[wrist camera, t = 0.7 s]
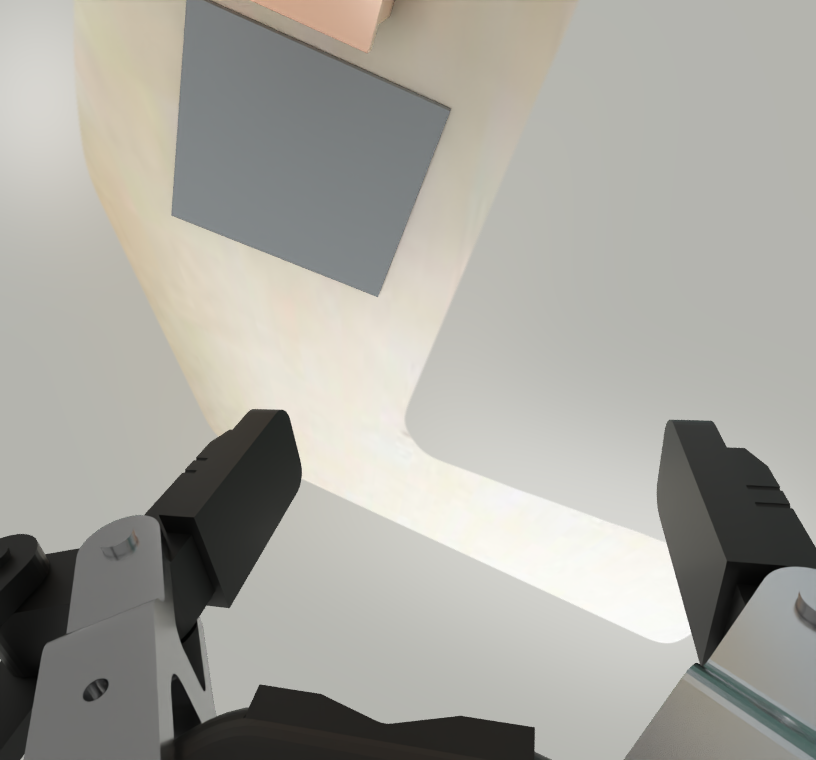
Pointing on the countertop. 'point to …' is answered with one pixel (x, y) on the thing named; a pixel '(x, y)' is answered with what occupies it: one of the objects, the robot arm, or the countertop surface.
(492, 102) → the countertop surface
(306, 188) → the mat
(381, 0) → the lid
